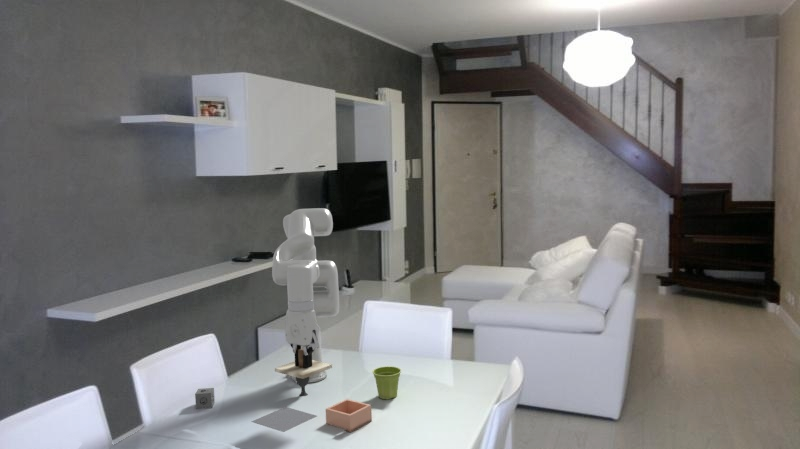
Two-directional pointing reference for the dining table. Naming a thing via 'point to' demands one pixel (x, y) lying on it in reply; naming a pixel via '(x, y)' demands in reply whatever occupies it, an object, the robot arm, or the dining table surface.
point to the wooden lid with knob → (299, 370)
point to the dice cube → (204, 398)
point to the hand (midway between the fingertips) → (303, 365)
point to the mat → (284, 419)
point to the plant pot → (387, 381)
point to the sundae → (302, 385)
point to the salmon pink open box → (349, 415)
